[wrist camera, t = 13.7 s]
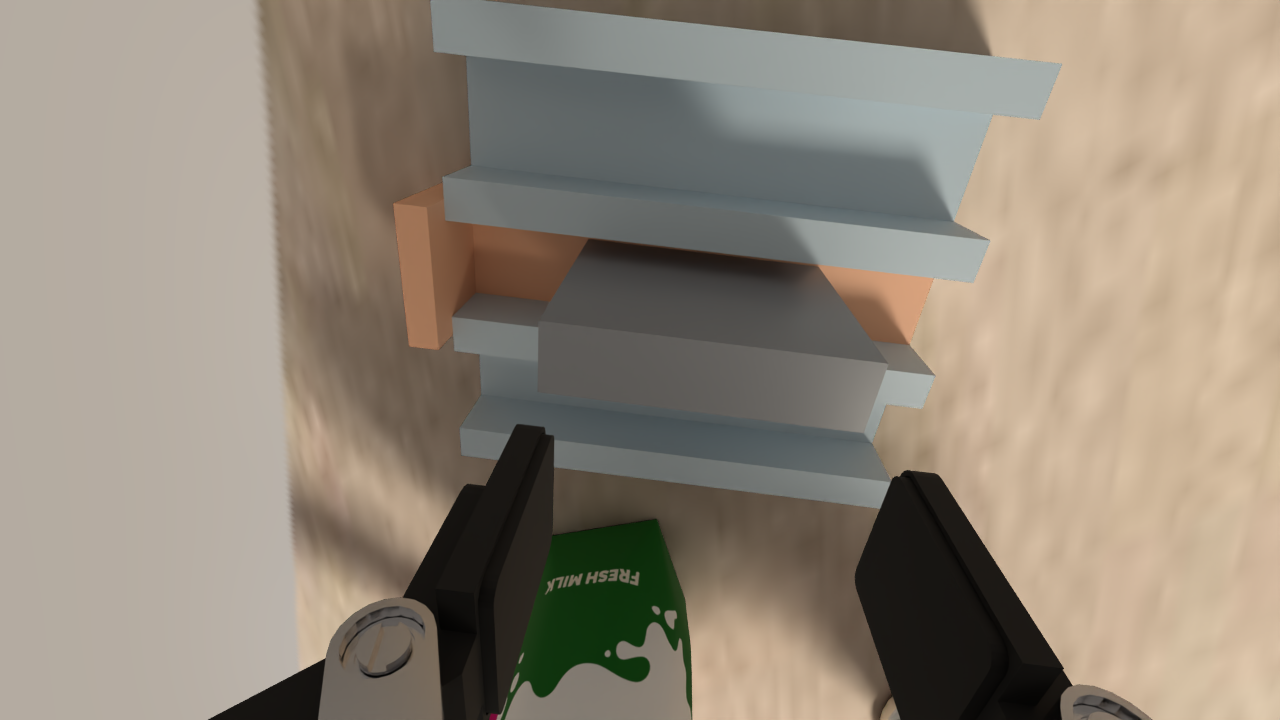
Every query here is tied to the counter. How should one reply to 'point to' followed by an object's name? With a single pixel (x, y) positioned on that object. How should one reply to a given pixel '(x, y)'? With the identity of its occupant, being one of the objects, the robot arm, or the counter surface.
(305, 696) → the robot arm
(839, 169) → the rack
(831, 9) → the counter surface
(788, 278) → the panel
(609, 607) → the milk carton
